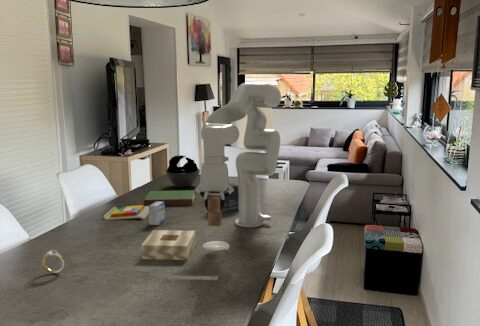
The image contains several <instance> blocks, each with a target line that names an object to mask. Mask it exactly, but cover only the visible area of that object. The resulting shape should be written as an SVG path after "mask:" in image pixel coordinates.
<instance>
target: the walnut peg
mask: <svg viewBox="0 0 480 326" xmlns="http://www.w3.org/2000/svg"><path fill="white" fill-rule="evenodd" d="M220 200H221V195H220V194H210V193H209V194H208V210H207V222H208V224H207V226H209V227H221V226H222V223H223V222H222V221H223V220H222V216H223V215H222V211H221V210H220Z"/></svg>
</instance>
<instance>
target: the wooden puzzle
mask: <svg viewBox="0 0 480 326" xmlns="http://www.w3.org/2000/svg"><path fill="white" fill-rule="evenodd" d="M147 216H149V206H144V204H140V205H139V204H138V205H130V206H129V205H128V206H127V205H126V206H118V207H117V206H114V207H112V208H111V209H110V210H109V211H108V212H106V213H105V214H104V215H103V219H104V220H105V221H113V220H114V221H115V220H116V221H119V220H131V219H132V220H133V219H141V220H145V219H146V218H147Z"/></svg>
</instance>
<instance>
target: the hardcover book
mask: <svg viewBox="0 0 480 326" xmlns="http://www.w3.org/2000/svg"><path fill="white" fill-rule="evenodd" d="M195 192H196V191H195V189H193V190H191V189H190V190H189V189H188V190H149V192H148V193H147V195H146V196H145V198H144V199H143V206H150V205H151V204H153V203H154V202H164V206H165V207H166V206H167V207H168V206H169V207H171V206H172V207H173V206H175V207H177V206H179V207H180V206H193V203H194V201H195Z"/></svg>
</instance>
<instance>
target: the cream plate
mask: <svg viewBox="0 0 480 326" xmlns="http://www.w3.org/2000/svg"><path fill="white" fill-rule="evenodd" d="M202 248H203V250H206V251H211V252H212V251H213V252H216V251H217V252H219V251H223V250H224V252H228V250H230V244H229V243H228V242H226V241H222V240H212V241H207V242H205V243H203V244H202Z"/></svg>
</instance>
